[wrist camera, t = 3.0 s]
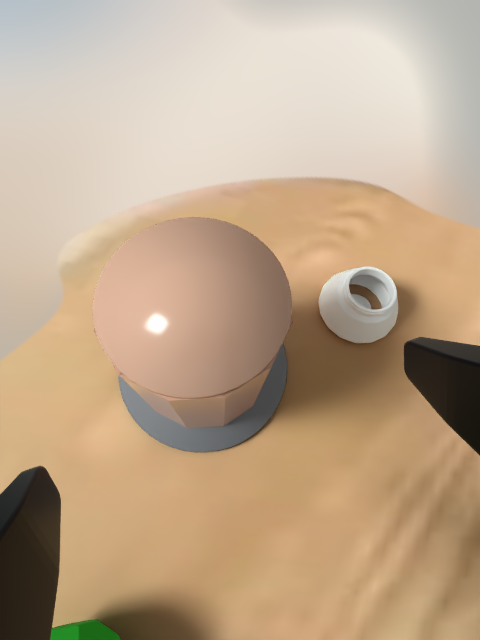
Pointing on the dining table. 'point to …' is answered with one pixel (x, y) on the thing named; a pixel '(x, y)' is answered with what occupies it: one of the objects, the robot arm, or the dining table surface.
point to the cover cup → (193, 318)
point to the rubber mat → (210, 436)
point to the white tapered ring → (359, 305)
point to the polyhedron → (84, 631)
